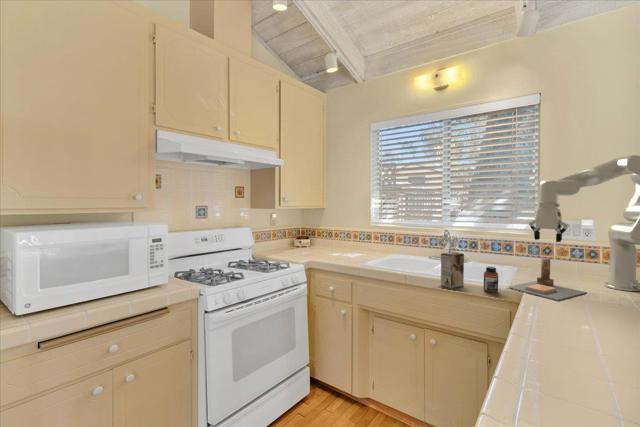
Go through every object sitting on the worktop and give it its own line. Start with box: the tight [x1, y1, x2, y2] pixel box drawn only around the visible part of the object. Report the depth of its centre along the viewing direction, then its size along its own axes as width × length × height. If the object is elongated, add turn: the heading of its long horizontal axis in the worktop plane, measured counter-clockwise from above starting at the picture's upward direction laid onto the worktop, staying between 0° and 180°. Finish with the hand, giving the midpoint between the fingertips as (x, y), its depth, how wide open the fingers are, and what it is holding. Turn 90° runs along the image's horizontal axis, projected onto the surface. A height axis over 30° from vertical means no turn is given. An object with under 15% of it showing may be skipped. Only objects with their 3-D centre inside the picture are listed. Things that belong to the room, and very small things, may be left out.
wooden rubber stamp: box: [536, 257, 555, 286], centre depth 159 cm, size 6×4×13 cm, turn 27°
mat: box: [507, 280, 588, 302], centre depth 150 cm, size 22×24×1 cm
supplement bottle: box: [483, 266, 499, 294], centre depth 149 cm, size 6×6×11 cm
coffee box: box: [440, 251, 465, 289], centre depth 159 cm, size 9×6×16 cm
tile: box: [525, 284, 556, 294], centre depth 149 cm, size 8×2×10 cm
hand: (547, 240), depth 158 cm, fingers open, 9 cm apart
